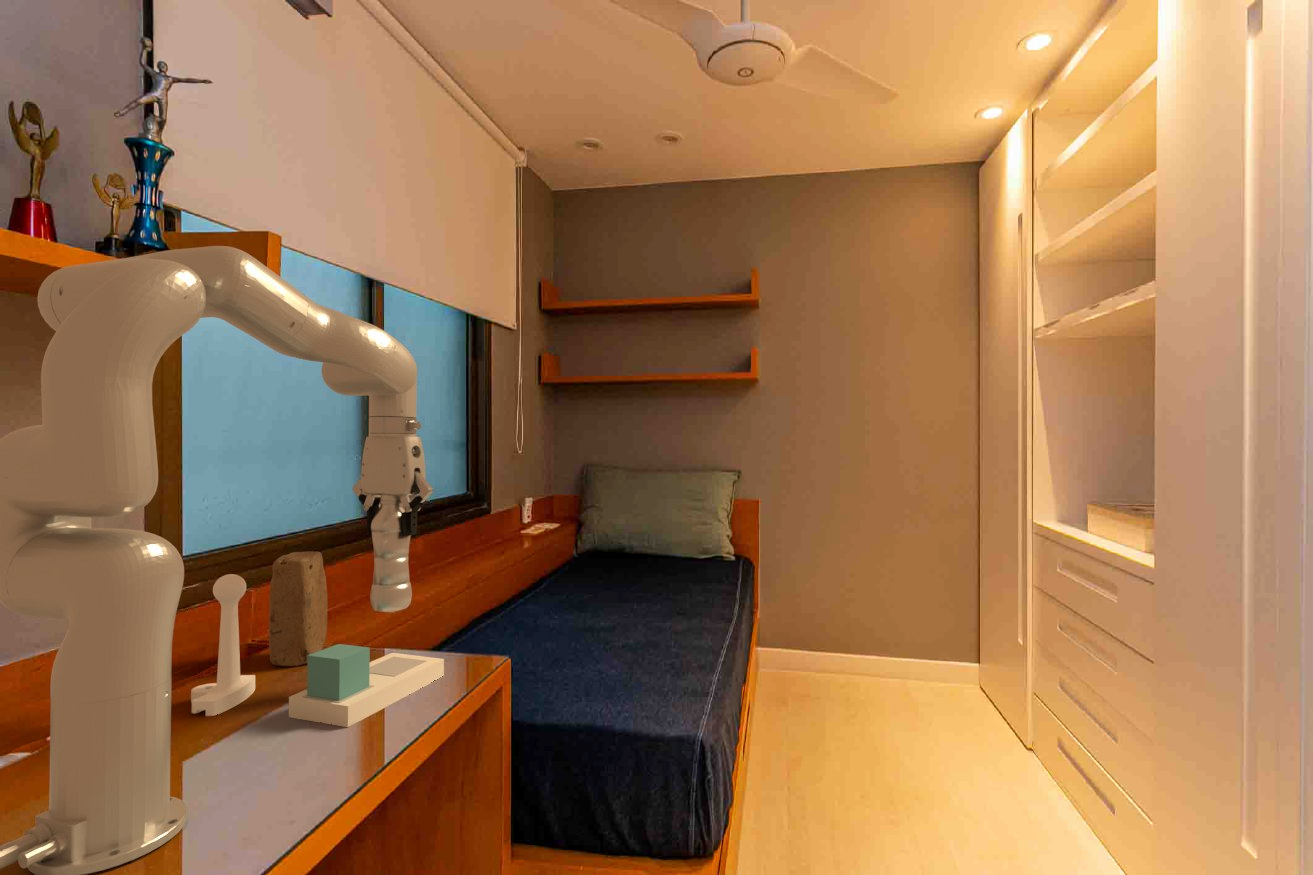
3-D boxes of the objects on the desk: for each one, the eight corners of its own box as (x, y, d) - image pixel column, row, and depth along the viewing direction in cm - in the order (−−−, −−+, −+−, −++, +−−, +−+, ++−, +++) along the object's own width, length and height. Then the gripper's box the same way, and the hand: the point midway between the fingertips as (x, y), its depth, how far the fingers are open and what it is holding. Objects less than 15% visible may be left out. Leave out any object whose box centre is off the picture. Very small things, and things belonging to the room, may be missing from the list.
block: (306, 668, 118) (307, 557, 118) (263, 669, 118) (264, 558, 118) (332, 649, 129) (333, 548, 129) (293, 650, 129) (294, 548, 129)
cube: (339, 700, 95) (339, 659, 95) (307, 695, 97) (307, 655, 97) (369, 686, 101) (369, 647, 101) (338, 682, 103) (338, 643, 103)
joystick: (221, 715, 97) (223, 581, 98) (168, 716, 97) (170, 581, 97) (262, 688, 109) (263, 567, 109) (215, 689, 108) (216, 568, 108)
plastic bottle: (420, 609, 112) (421, 492, 112) (385, 618, 106) (387, 495, 106) (396, 604, 115) (397, 491, 115) (361, 612, 109) (362, 493, 110)
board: (347, 727, 93) (348, 705, 93) (288, 717, 97) (288, 696, 97) (443, 676, 114) (443, 658, 114) (392, 669, 118) (392, 651, 118)
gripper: (449, 429, 112) (448, 533, 112) (367, 429, 117) (366, 529, 117) (421, 427, 105) (420, 539, 104) (334, 428, 110) (333, 535, 110)
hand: (391, 533), depth 111 cm, fingers closed on plastic bottle, 6 cm apart
